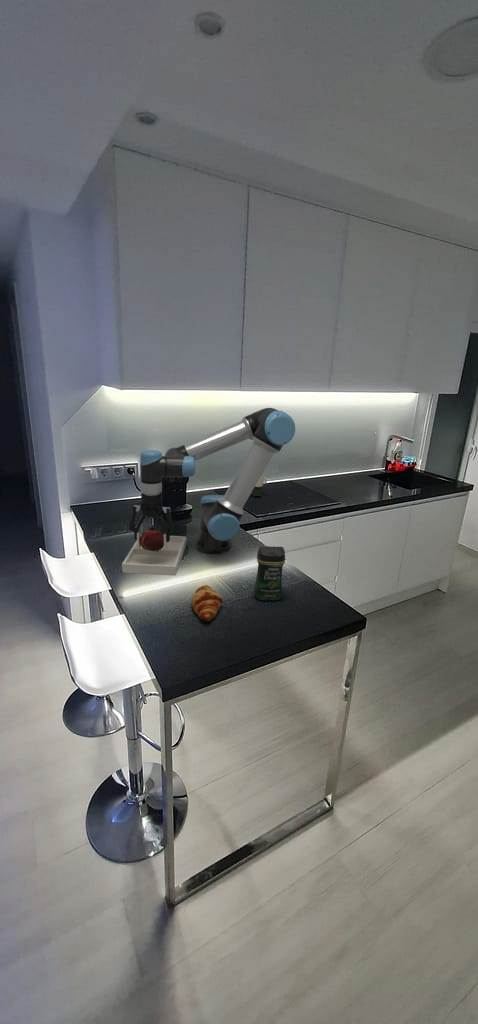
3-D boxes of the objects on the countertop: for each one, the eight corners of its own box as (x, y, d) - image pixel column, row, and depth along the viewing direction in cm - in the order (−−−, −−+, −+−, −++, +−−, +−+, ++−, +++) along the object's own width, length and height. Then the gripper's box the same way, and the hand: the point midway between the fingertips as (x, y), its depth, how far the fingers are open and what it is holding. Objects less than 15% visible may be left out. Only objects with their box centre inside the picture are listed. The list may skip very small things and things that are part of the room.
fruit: (160, 556, 159) (159, 531, 156) (136, 553, 161) (135, 528, 157) (168, 546, 168) (168, 523, 164) (145, 543, 169) (145, 520, 166)
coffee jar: (254, 602, 144) (258, 552, 138) (253, 590, 151) (256, 542, 145) (283, 602, 144) (287, 552, 138) (280, 590, 152) (284, 542, 146)
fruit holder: (186, 543, 186) (186, 536, 185) (175, 575, 159) (175, 566, 158) (140, 541, 186) (140, 534, 185) (122, 572, 159) (121, 564, 158)
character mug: (264, 494, 261) (266, 474, 257) (266, 498, 254) (267, 477, 250) (247, 494, 260) (248, 473, 256) (247, 497, 254) (249, 476, 249)
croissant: (197, 599, 150) (186, 582, 148) (222, 587, 150) (212, 569, 147) (198, 635, 130) (186, 615, 128) (227, 621, 130) (216, 600, 127)
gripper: (183, 491, 160) (182, 546, 167) (124, 488, 160) (126, 542, 167) (180, 497, 153) (179, 554, 160) (118, 493, 153) (120, 550, 160)
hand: (152, 548), depth 164 cm, fingers closed on fruit, 9 cm apart
